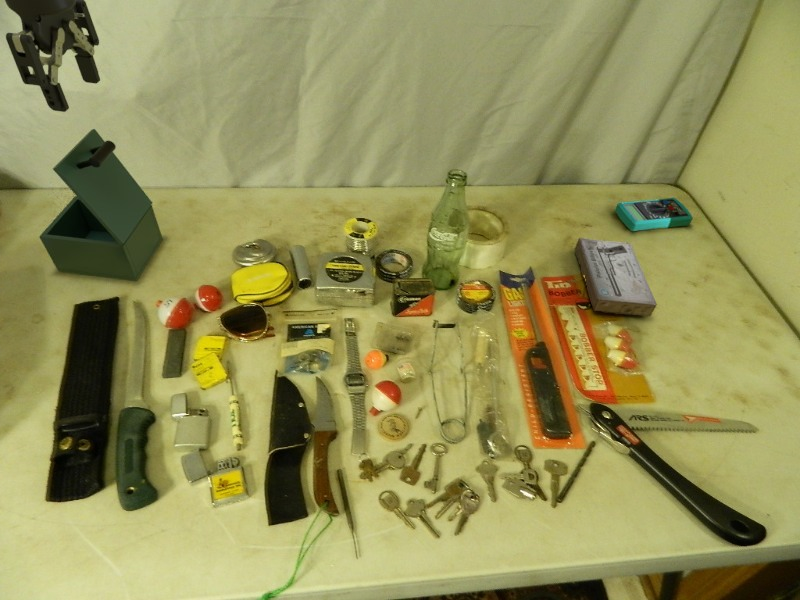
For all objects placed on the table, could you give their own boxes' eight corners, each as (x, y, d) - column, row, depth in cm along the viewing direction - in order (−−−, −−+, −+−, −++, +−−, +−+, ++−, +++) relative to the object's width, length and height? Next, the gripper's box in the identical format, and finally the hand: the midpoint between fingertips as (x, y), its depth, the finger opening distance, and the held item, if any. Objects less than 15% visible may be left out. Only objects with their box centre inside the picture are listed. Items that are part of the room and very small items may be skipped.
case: (58, 271, 90) (38, 236, 84) (90, 230, 98) (74, 196, 92) (136, 281, 90) (122, 246, 84) (163, 239, 98) (151, 205, 92)
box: (591, 312, 92) (598, 299, 89) (572, 248, 104) (578, 236, 102) (651, 318, 92) (659, 306, 90) (626, 254, 104) (632, 242, 102)
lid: (52, 168, 74) (77, 161, 73) (91, 129, 82) (115, 122, 81) (120, 245, 84) (143, 239, 83) (149, 203, 92) (171, 197, 90)
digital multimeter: (691, 226, 112) (697, 215, 110) (629, 233, 109) (635, 222, 107) (671, 206, 117) (677, 195, 115) (611, 211, 114) (617, 200, 112)
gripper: (31, -58, 67) (77, 70, 79) (-46, -24, 57) (20, 116, 69) (89, -50, 67) (127, 77, 78) (22, -15, 57) (77, 124, 69)
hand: (77, 95), depth 74 cm, fingers open, 8 cm apart
